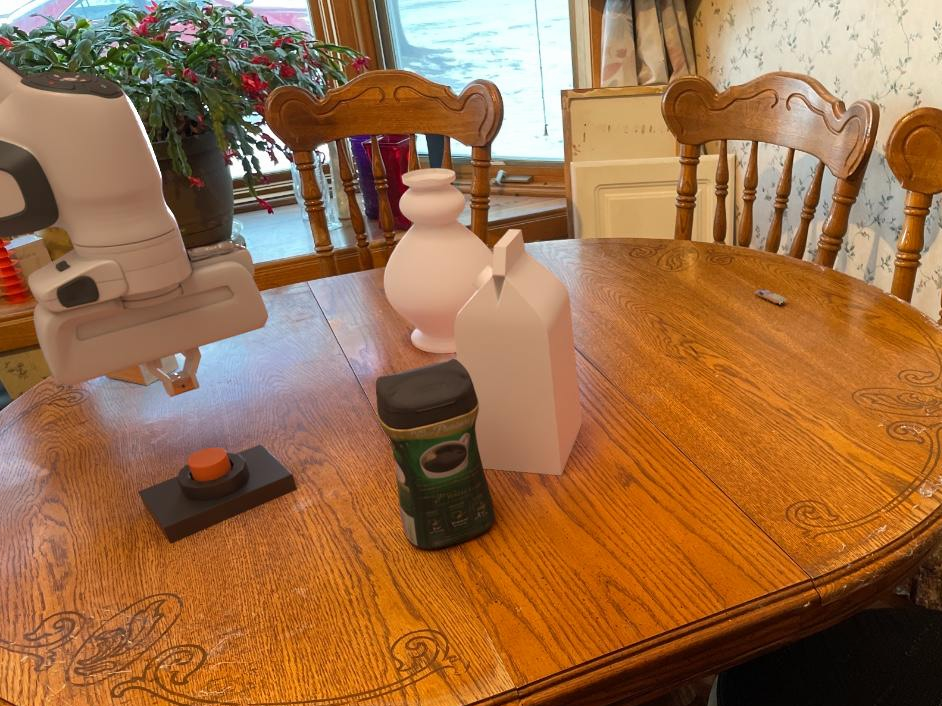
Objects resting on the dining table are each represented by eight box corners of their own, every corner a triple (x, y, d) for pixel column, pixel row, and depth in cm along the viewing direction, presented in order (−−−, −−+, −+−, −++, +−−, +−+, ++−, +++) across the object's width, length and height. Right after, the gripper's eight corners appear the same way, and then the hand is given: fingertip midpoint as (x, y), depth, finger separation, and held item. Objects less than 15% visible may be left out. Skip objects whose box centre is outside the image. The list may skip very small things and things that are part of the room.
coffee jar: (479, 493, 88) (458, 344, 78) (504, 532, 82) (485, 376, 72) (394, 519, 85) (361, 366, 74) (414, 561, 79) (381, 401, 68)
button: (200, 487, 84) (194, 471, 83) (188, 472, 87) (182, 456, 86) (237, 472, 87) (231, 457, 85) (224, 458, 89) (218, 443, 88)
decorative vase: (528, 324, 127) (515, 166, 113) (464, 370, 114) (440, 197, 100) (440, 307, 134) (418, 156, 121) (370, 348, 121) (337, 184, 107)
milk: (561, 475, 91) (547, 258, 76) (467, 467, 93) (436, 254, 78) (582, 422, 101) (572, 222, 86) (496, 416, 102) (473, 219, 88)
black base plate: (170, 544, 82) (157, 514, 80) (144, 506, 88) (132, 477, 85) (297, 489, 90) (288, 460, 88) (266, 458, 95) (257, 430, 93)
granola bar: (789, 304, 131) (790, 298, 130) (779, 307, 130) (780, 301, 129) (762, 292, 136) (762, 286, 135) (752, 295, 135) (752, 289, 134)
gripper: (234, 230, 81) (268, 350, 89) (6, 282, 70) (68, 414, 78) (257, 243, 77) (291, 368, 85) (20, 300, 66) (84, 438, 74)
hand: (183, 390), depth 81 cm, fingers closed
